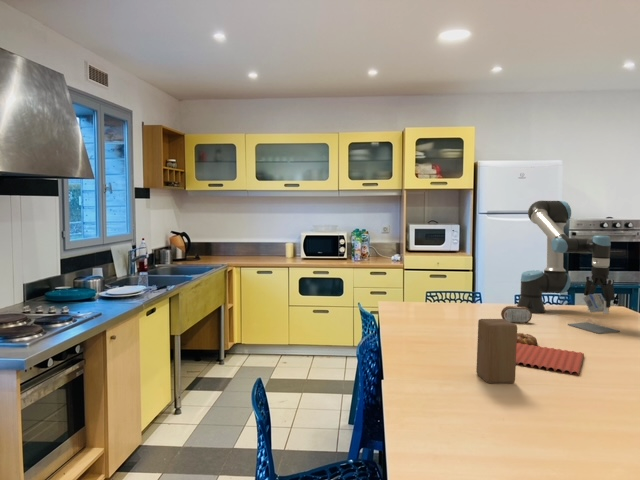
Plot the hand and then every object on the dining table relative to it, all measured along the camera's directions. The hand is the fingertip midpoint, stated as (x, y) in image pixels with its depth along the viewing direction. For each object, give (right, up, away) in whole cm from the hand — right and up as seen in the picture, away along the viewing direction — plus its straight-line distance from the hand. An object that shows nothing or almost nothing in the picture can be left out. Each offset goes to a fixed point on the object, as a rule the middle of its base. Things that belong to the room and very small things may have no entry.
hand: (598, 311), depth 238 cm
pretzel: (-49, -10, -28) cm, 57 cm away
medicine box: (-6, +5, -2) cm, 8 cm away
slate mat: (-2, -8, +1) cm, 9 cm away
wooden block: (-78, -12, -73) cm, 108 cm away
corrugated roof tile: (-52, -12, -50) cm, 73 cm away
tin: (-36, -7, +11) cm, 39 cm away
